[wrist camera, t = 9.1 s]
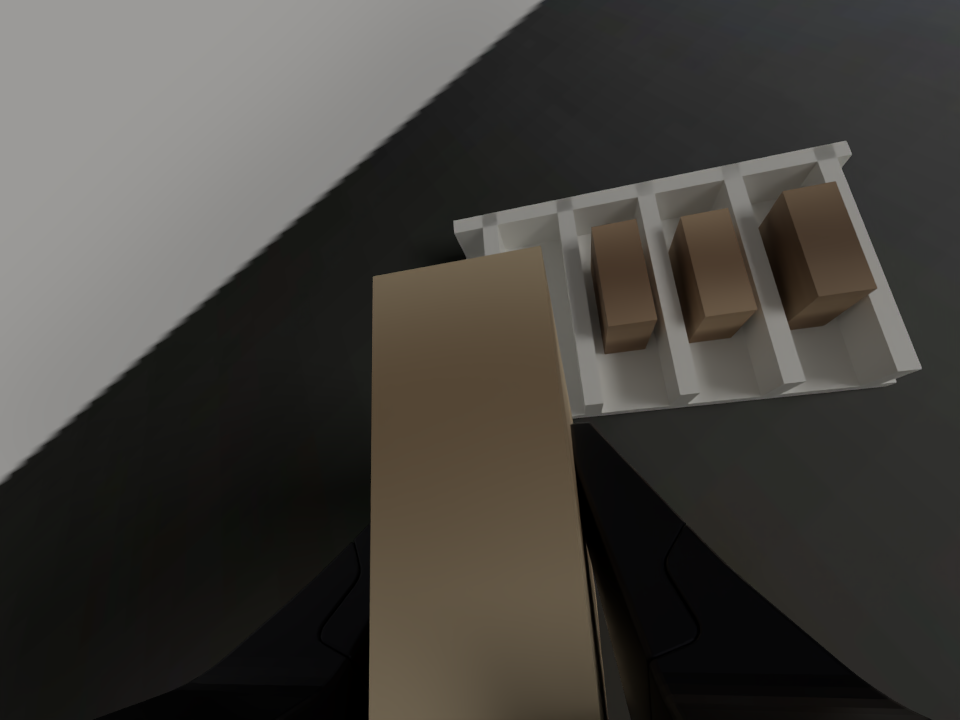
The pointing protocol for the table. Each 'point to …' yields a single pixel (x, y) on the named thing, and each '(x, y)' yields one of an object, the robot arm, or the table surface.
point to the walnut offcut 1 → (621, 287)
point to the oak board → (476, 503)
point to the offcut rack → (668, 355)
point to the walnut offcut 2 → (710, 276)
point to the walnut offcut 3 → (815, 255)
